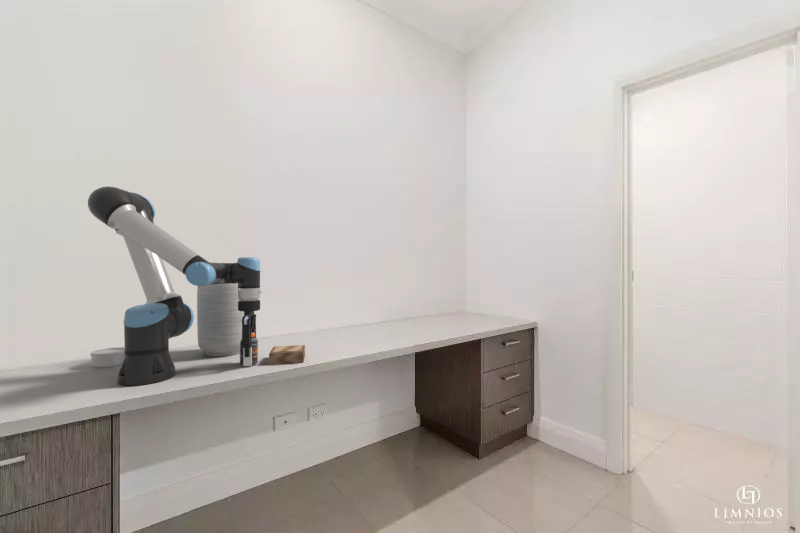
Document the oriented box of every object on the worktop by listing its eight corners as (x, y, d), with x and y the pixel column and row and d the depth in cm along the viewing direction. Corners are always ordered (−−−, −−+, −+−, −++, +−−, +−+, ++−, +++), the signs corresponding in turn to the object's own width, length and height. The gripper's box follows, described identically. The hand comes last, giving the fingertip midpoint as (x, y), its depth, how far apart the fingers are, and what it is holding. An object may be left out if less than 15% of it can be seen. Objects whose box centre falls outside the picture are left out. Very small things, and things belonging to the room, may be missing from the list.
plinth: (269, 364, 132) (269, 352, 132) (273, 356, 144) (273, 345, 144) (303, 362, 135) (303, 351, 135) (305, 354, 147) (304, 344, 147)
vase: (246, 345, 167) (245, 271, 167) (255, 353, 150) (255, 271, 150) (195, 351, 156) (194, 272, 156) (199, 361, 139) (198, 272, 139)
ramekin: (134, 359, 142) (133, 346, 142) (122, 367, 132) (121, 352, 132) (99, 362, 139) (99, 348, 139) (84, 370, 128) (84, 355, 128)
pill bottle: (251, 366, 129) (251, 334, 129) (236, 365, 131) (236, 334, 131) (261, 362, 135) (260, 331, 135) (246, 361, 137) (246, 331, 136)
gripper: (255, 301, 125) (255, 369, 125) (264, 297, 143) (264, 356, 143) (231, 302, 123) (232, 371, 123) (243, 297, 142) (244, 357, 142)
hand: (249, 363), depth 133 cm, fingers closed on pill bottle, 6 cm apart
